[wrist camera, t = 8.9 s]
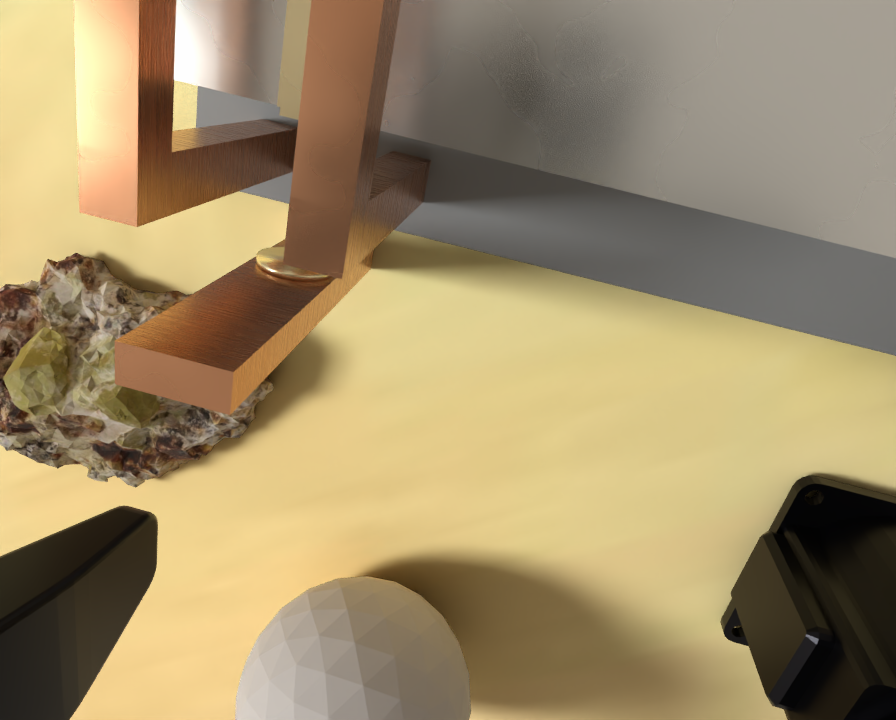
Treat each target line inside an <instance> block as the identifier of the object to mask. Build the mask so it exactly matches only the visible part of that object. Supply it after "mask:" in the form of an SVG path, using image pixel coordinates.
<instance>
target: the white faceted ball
mask: <svg viewBox="0 0 896 720" xmlns="http://www.w3.org/2000/svg"><path fill="white" fill-rule="evenodd" d="M470 713H471V704H470V681H469V671H468V668H467V665H466V662H465V659H464V656H463V653H462V650H461V647H460V644H459V641H458V640H457V638H456V636H455V635H454V633H453V631H452V630H451V628H450V627H449V625H448V623H447V622H446V620H445V618H444V617H443V615H441V614H440V613H439V612H438V611H437V610H436V609H435V608H434V607H433V606H432V605H431V604H430V603H429V602H427V601H426V600H425V599H424V598H423V597H422V596H421V595H420V594H418V593H416V592H414V591H412V590H410V589H408V588H406V587H404V586H402V585H401V584H399V583H397V582H394V581H389V580H384V579H379V578H374V577H369V576H362V577H351V578H340V579H335V580H332V581H330V582H327V583H324V584H321V585H318V586H316V587H313V588H310V589H308V590H307V591H305V592H304V593H302V594H301V595H299V596H298V597H297V598H295V599H294V600H292V601H291V602H289V603H288V604H287V605H285V606H284V607H282V608H281V610H280V611H279V612H278V613H277V614H276V616H275V617H274V618H273V619H272V620H271V622H270V623H269V624H268V625H267V626H266V628H265V629H264V630H263V631H262V633H261V634H260V635H259V637H258V638H257V640H256V642H255V644H254V646H253V648H252V650H251V652H250V654H249V656H248V658H247V660H246V663H245V666H244V669H243V672H242V675H241V679H240V683H239V687H238V692H237V696H236V714H235V720H469V717H470Z"/></svg>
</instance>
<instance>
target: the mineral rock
mask: <svg viewBox="0 0 896 720" xmlns="http://www.w3.org/2000/svg"><path fill="white" fill-rule="evenodd" d="M191 295H192V294H191ZM191 295H185V294H183V293H181V292H179V291H171V292H166V293H154V292H150V291H140V290H136V289H134V288H131V286H130V285H129V284H127V283H125V282H123V281H122V280H121V279H116V278H115V277H114V276H112V275H111V274H110V271H109V270H108V269H107V267H106V265H105V263H104V262H103V261H99V260H95V259H90V258H86V257H83V256H82V255H80V254H78V253H75V254H73V255H72V256H70V257H66V259H65V260H62V261H58V262H55V261H52V260H49V259H47V262H46V264H45V266H44V269H43V272H42V275H41V279H40V281H39V282H35V281H32V280H31V281H30V282H27V283H25V284H22V285H10V284H6V285H5V286H3V287H2V288H1V289H0V445H1V446H3V447H5V449H6V451H8V450H15V451H17V452H19V453H20V454H22V455H25V456H27V457H29V458H31V459H33V460H35V461H36V462H38V463H44V464H47V465H49V466H53V467H57V468H59V467H61V466H63V465H69V464H81V465H83V466H86V467H88V469H89V471H88V475H87V476H88V477H89V478H91V479H94V480H97V481H105V482H108V479H107V478H109V477H112V476H117V477H120V478H121V479H122V480H123V481H124V482H125V483H126V484H128V485H131V486H133V487H137V486H139V485H140V484H142V483H143V482H145V480H148V479H151V478H154V477H160V476H162V475H163V474H165V473H166V472H167V471H170V470H175V469H177V468H179V464H182V463H187V462H188V461H189V460H199V459H200V457H201V455H207V454H208V453H209V452H210V451H211V450H212V448H213V446H214V445H215V444H216V443H218V442H219V441H221V440H222V439H223V438H240V436H241V435H242V434H243V433H244V432H245V430H246V429H247V428H248V426H249V424H250V423H251V421H252V420H253V419H255V414H254V406H255V405H256V403H258V402H260V401H262V400H264V399H265V396H266V395H267V394H268V393H269V392H271V391H272V390H274V388H273V383H271V382H270V380H269V378H268V377H266V378H265V379H264V380H263V381H262V382H261V383H260V385H259V386H258V387H257V388H256V389H255V390H254V391H253V392H252V393H251V394H250V395H249V396H248V397H247V398H246V399H245V400H244V401H243V402H242V403H241V404H240V405H239V406H238V407H237V408H236V410H235V411H234V412H233V413H232V414H231V415H228V414H224V413H220V412H217V411H213V410H209V409H205V408H202V407H198V406H194V405H190V404H187V403H183V402H179V401H175V400H172V399H168V398H164V397H161V396H157V395H153V394H149V393H146V392H142V391H138V390H134V389H131V388H127V387H123V386H119V385H116V384H115V340H117V339H118V338H120V337H122V336H123V335H125V334H127V333H128V332H130V331H132V330H133V329H135V328H137V327H138V326H140V325H142V324H144V323H145V322H147V321H149V320H150V319H152V318H154V317H155V316H157V315H159V314H160V313H162V312H164V311H165V310H167V309H169V308H170V307H172V306H174V305H175V304H177V303H179V302H180V301H182V300H184V299H185V298H187V297H189V296H191Z"/></svg>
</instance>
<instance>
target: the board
mask: <svg viewBox="0 0 896 720" xmlns="http://www.w3.org/2000/svg"><path fill="white" fill-rule="evenodd" d="M279 114H280V107H277V105H274V104H270V103H266V102H262V101H258V100H254V99H250V98H246V97H242V96H238V95H234V94H230V93H226V92H222V91H217V90H213V89H209V88H205V87H201V86H198V97H197V119H196V128H199V127H207V126H214V125H222V124H229V123H237V122H244V121H252V120H259V119H265V120H270V121H274V122H278V123H282V124H286V125H290V126H294V127H298V120H296V119H292V118H288V117H284V116H280V115H279ZM392 151H396V152H400V153H405V154H409V155H413V156H417V157H421V158H425V159H429V160H431V164H430V169H429V174H428V179H427V184H426V190H425V195H424V200H423V203H422V204H421V205H420V206H419V207H418V208H417V209H416V210H415V211H414V212H412V213H411V214H410V215H409V216H408V217H407V218H406V219H405V220H404V221H403V222H402V223H401V224H400V225H399V226H398V227H397V228H396V229H395V230H396V231H400V232H404V233H408V234H412V235H416V236H420V237H424V238H428V239H432V240H436V241H440V242H444V243H448V244H452V245H456V246H460V247H464V248H468V249H472V250H476V251H480V252H484V253H488V254H492V255H496V256H500V257H504V258H508V259H512V260H516V261H520V262H524V263H528V264H532V265H536V266H540V267H544V268H548V269H552V270H556V271H560V272H564V273H568V274H572V275H576V276H580V277H584V278H588V279H592V280H596V281H600V282H604V283H608V284H612V285H616V286H620V287H624V288H628V289H632V290H636V291H640V292H644V293H648V294H652V295H656V296H660V297H664V298H668V299H672V300H676V301H680V302H684V303H688V304H692V305H696V306H700V307H704V308H708V309H712V310H716V311H720V312H724V313H728V314H732V315H736V316H740V317H744V318H748V319H752V320H756V321H760V322H764V323H768V324H772V325H776V326H780V327H783V328H787V329H791V330H795V331H799V332H803V333H807V334H811V335H815V336H819V337H823V338H827V339H831V340H835V341H839V342H843V343H847V344H851V345H855V346H859V347H863V348H867V349H871V350H875V351H879V352H883V353H887V354H891V355H895V356H896V258H893V257H889V256H885V255H881V254H877V253H873V252H869V251H865V250H861V249H857V248H853V247H849V246H845V245H841V244H837V243H833V242H828V241H824V240H820V239H816V238H812V237H808V236H804V235H800V234H796V233H792V232H788V231H784V230H780V229H776V228H772V227H768V226H764V225H760V224H756V223H752V222H748V221H744V220H739V219H735V218H731V217H727V216H723V215H719V214H715V213H711V212H707V211H703V210H699V209H695V208H691V207H687V206H683V205H679V204H675V203H671V202H667V201H663V200H659V199H654V198H650V197H646V196H642V195H638V194H634V193H630V192H626V191H622V190H618V189H614V188H610V187H606V186H602V185H598V184H594V183H590V182H586V181H582V180H578V179H574V178H570V177H565V176H561V175H557V174H553V173H549V172H545V171H541V170H537V169H533V168H529V167H525V166H521V165H517V164H513V163H509V162H505V161H501V160H497V159H493V158H489V157H485V156H480V155H476V154H472V153H468V152H464V151H460V150H456V149H452V148H448V147H444V146H440V145H436V144H432V143H428V142H424V141H420V140H416V139H412V138H408V137H404V136H400V135H396V134H391V133H387V132H383V131H380V135H379V141H378V147H377V153H376V158H379V157H381V156H383V155H385V154H388V153H390V152H392ZM292 175H293V172H291V173H288V174H285V175H283V176H280V177H277V178H274V179H271V180H268V181H266V182H263V183H260V184H257V185H254V186H251V187H249V188H246V189H243V190H240V192H244V193H248V194H252V195H256V196H260V197H264V198H268V199H272V200H276V201H280V202H284V203H288V204H289V203H290V193H291V184H292Z"/></svg>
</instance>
